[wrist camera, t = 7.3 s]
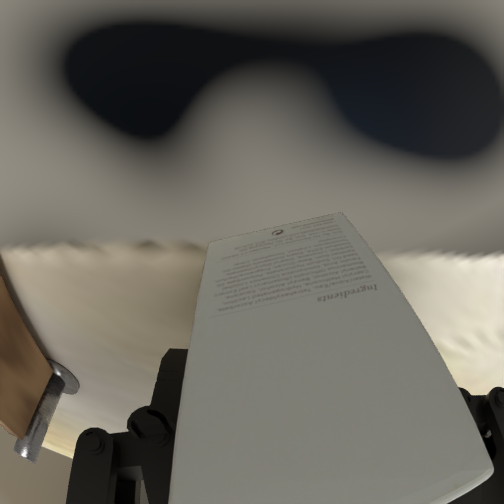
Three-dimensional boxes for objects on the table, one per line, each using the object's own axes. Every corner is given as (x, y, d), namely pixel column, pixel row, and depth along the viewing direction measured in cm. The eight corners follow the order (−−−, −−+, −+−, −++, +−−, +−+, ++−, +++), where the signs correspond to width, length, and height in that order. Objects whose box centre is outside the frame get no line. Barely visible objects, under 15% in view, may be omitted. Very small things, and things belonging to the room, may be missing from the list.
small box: (207, 238, 12) (151, 543, 2) (344, 207, 11) (506, 471, 2) (253, 363, 15) (260, 548, 6) (351, 342, 15) (404, 520, 6)
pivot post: (52, 385, 20) (21, 459, 12) (30, 354, 18) (-10, 434, 10) (86, 393, 20) (59, 477, 12) (65, 363, 18) (26, 454, 10)
